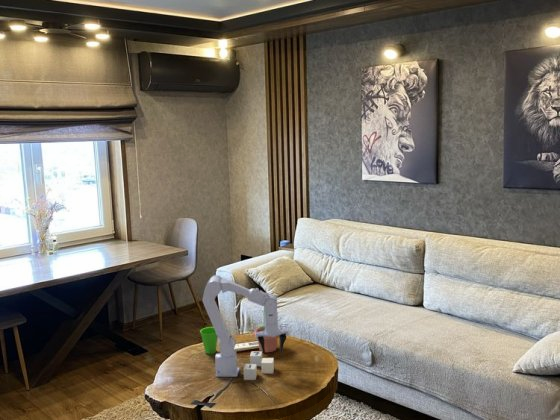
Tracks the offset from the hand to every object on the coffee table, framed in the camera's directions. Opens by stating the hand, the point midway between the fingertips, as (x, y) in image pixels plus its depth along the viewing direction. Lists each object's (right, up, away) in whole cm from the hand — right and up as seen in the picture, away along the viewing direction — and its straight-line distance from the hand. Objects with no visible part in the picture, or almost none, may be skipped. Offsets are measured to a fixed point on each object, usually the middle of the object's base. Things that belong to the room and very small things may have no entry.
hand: (272, 351), depth 250 cm
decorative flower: (-2, -6, +24) cm, 25 cm away
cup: (-30, -7, +25) cm, 40 cm away
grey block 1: (-9, -11, -3) cm, 14 cm away
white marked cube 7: (-7, -8, +10) cm, 15 cm away
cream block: (-2, -9, +2) cm, 10 cm away
